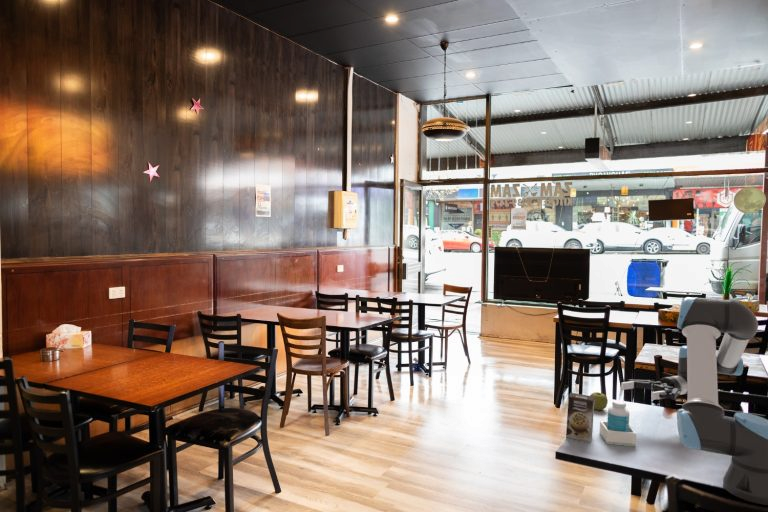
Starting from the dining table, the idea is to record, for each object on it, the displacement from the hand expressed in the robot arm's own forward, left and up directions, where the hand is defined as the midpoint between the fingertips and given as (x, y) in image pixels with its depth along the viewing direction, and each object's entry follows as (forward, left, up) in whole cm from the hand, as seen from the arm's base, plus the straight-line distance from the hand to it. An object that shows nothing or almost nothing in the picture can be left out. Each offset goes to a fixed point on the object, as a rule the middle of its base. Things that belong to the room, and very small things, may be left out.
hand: (636, 390), depth 201 cm
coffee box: (-7, +22, -18) cm, 29 cm away
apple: (+29, +6, -18) cm, 35 cm away
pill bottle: (-6, +8, -17) cm, 20 cm away
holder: (-6, +8, -18) cm, 20 cm away
